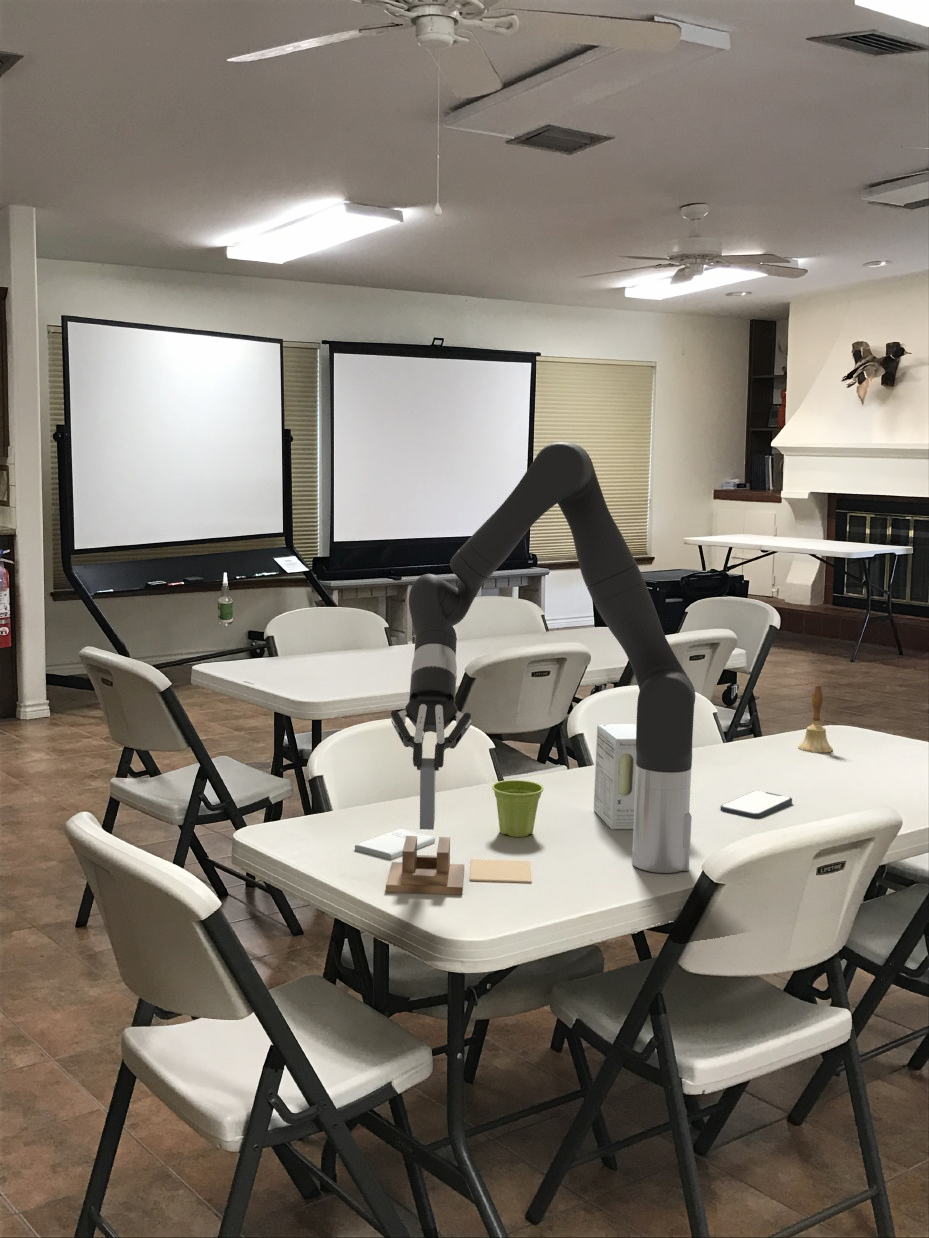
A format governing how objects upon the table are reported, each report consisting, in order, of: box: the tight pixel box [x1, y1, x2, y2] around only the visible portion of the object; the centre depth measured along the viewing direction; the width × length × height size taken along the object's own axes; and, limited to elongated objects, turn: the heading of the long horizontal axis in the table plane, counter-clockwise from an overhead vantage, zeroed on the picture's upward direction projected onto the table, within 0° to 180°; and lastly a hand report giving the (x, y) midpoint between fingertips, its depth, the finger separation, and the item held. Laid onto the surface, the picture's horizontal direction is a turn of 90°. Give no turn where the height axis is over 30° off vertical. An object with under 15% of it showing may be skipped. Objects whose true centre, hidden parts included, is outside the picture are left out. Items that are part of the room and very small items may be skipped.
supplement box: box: [593, 723, 637, 831], centre depth 228 cm, size 13×13×18 cm
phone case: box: [719, 790, 793, 819], centre depth 240 cm, size 9×2×16 cm
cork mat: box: [469, 858, 533, 884], centre depth 197 cm, size 10×10×1 cm
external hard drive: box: [354, 828, 436, 861], centre depth 209 cm, size 2×8×12 cm
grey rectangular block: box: [419, 757, 436, 831], centre depth 189 cm, size 2×4×10 cm, turn 179°
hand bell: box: [797, 684, 834, 754], centre depth 293 cm, size 8×8×16 cm
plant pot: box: [491, 779, 544, 838], centre depth 218 cm, size 9×9×9 cm
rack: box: [385, 836, 465, 896], centre depth 191 cm, size 12×11×6 cm
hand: (427, 767), depth 187 cm, fingers closed on grey rectangular block, 2 cm apart
